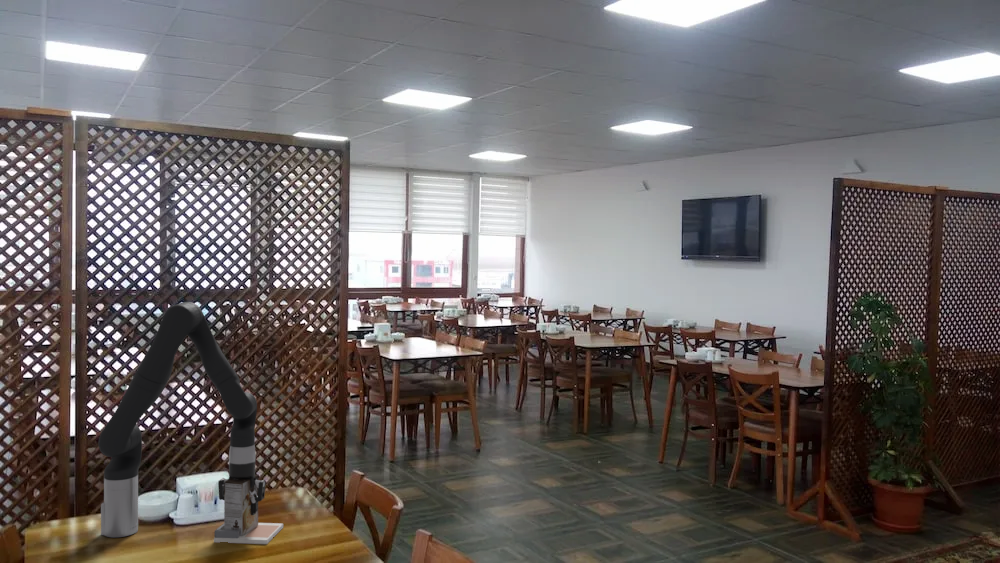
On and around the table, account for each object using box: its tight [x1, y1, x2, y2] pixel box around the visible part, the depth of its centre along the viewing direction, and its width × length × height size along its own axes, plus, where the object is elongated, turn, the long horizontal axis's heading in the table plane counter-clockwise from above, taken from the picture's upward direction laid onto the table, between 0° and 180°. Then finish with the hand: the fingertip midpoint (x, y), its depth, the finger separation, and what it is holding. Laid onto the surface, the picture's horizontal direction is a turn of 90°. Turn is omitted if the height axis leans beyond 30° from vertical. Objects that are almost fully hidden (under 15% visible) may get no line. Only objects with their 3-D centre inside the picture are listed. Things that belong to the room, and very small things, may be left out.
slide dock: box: [213, 522, 284, 545], centre depth 229 cm, size 16×14×3 cm
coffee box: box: [223, 474, 259, 536], centre depth 229 cm, size 9×6×16 cm
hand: (241, 513), depth 229 cm, fingers closed on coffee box, 7 cm apart
